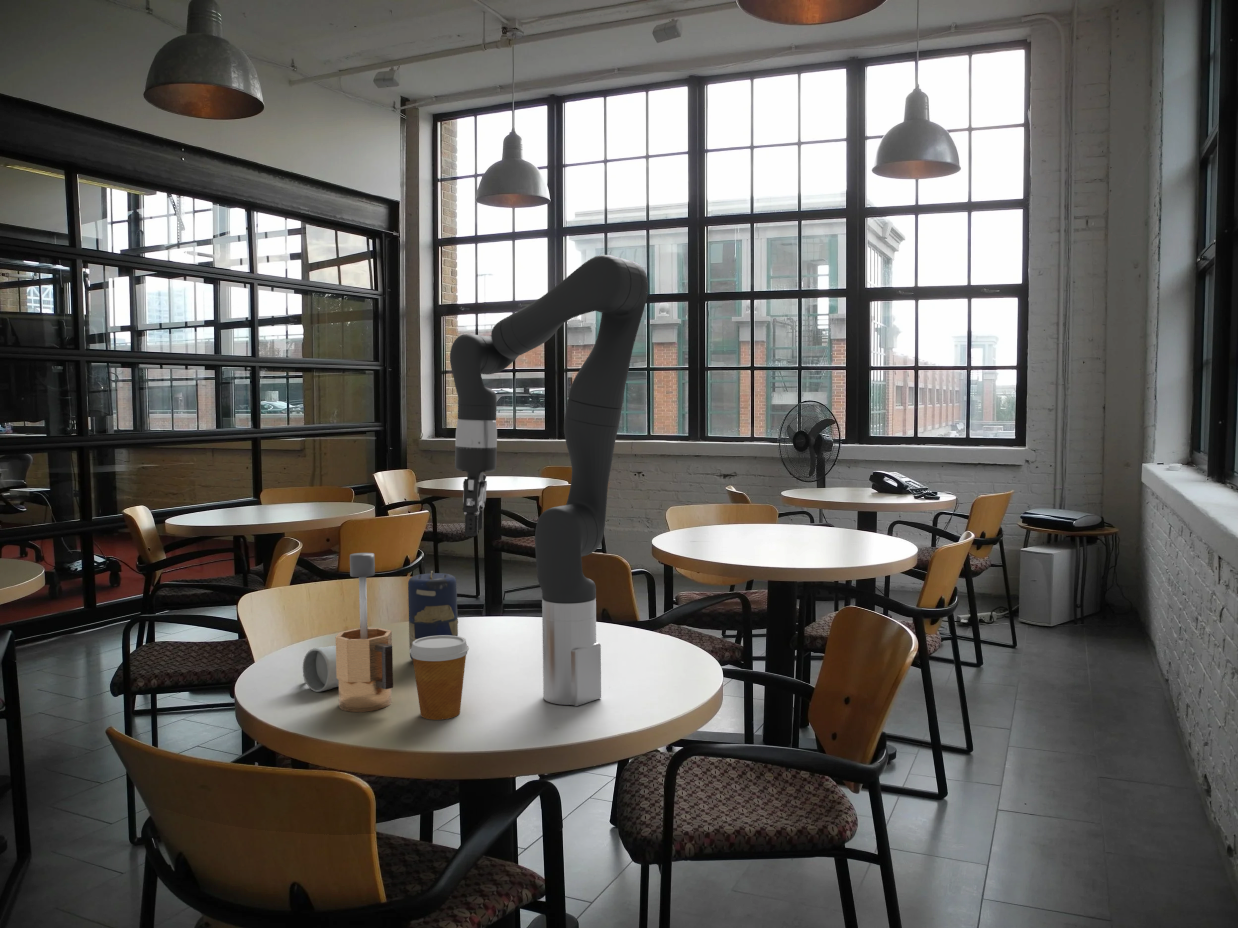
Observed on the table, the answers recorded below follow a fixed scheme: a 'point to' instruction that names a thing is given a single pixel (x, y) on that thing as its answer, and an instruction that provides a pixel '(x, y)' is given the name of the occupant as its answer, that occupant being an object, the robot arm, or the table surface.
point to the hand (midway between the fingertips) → (473, 532)
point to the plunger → (362, 583)
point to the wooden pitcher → (364, 669)
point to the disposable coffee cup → (439, 674)
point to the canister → (432, 606)
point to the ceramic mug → (320, 669)
